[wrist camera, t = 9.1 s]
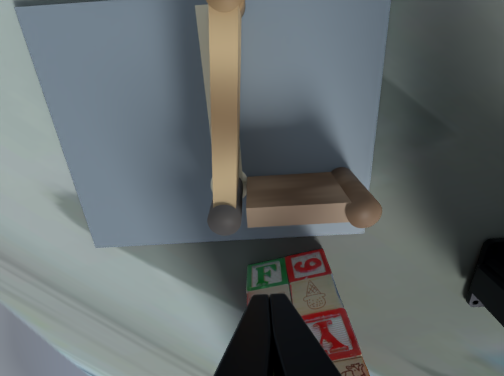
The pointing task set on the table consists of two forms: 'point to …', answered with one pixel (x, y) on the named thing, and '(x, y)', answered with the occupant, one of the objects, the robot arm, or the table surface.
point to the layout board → (203, 105)
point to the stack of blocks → (312, 303)
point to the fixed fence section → (310, 200)
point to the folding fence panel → (225, 114)
